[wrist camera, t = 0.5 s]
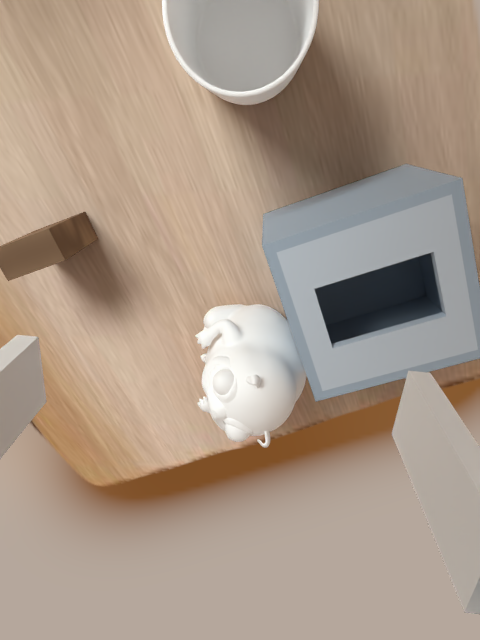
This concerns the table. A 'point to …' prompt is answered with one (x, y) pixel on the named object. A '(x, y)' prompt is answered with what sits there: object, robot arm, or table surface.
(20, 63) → the table surface
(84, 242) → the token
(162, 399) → the table surface
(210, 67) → the cup
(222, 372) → the figurine
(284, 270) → the coin box
